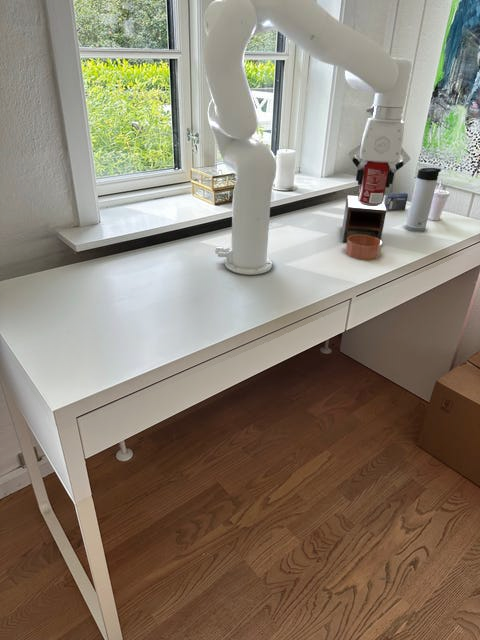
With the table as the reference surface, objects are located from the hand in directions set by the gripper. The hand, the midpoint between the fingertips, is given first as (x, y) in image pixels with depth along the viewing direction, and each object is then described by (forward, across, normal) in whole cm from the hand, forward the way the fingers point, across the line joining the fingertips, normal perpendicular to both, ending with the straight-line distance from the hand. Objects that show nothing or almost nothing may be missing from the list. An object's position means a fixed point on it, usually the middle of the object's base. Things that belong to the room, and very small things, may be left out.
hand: (373, 184), depth 127 cm
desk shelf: (+20, +1, +14) cm, 24 cm away
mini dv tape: (+19, +14, +47) cm, 53 cm away
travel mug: (+19, +20, +27) cm, 38 cm away
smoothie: (+19, +27, +40) cm, 52 cm away
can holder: (+20, +1, 0) cm, 20 cm away
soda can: (+5, 0, 0) cm, 5 cm away
